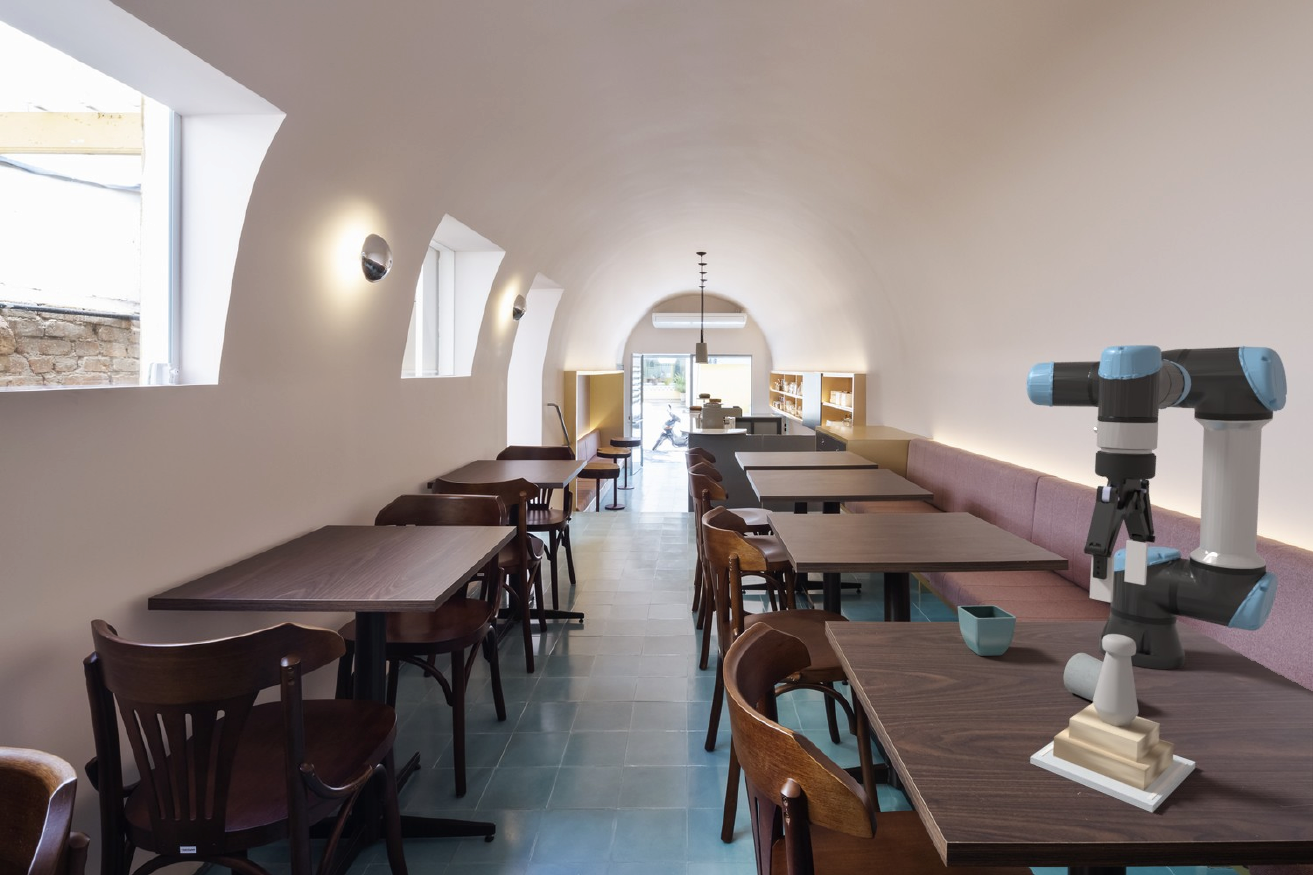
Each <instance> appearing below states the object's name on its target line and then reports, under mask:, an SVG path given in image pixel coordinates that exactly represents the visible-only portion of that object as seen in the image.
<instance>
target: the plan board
mask: <svg viewBox="0 0 1313 875" xmlns="http://www.w3.org/2000/svg"><path fill="white" fill-rule="evenodd" d="M1053 746H1054V740H1052V741H1051V742H1049V743H1048V744H1047V745H1045V746H1044V747H1042V748H1041V749H1039V750H1038V751H1037V752H1035V753H1033V754H1032V755H1031V756H1029V757H1030V760H1029V761H1030V762H1029V763H1030V764H1032V765H1034V766H1037V767H1038V768H1039V767H1040V768H1041V769H1044V770H1046V771H1049V772H1051V773H1053V774H1056V775H1059V776H1061V777H1063V778H1066V779H1067V780H1070V781H1073V782H1075V783H1078V784H1081V785H1084V786H1086V787H1088V788H1091V789H1093V790H1096V791H1098V792H1101V793H1103V794H1105V795H1108V796H1110V797H1113V798H1115V799H1118V800H1120V801H1122V802H1125V803H1127V804H1130V805H1132V806H1135V807H1137V808H1140V809H1142V810H1145V811H1147V812H1149V813H1154V812H1155V811H1156V810H1157V808H1159V807H1160V805H1161V804H1162V803H1164V801H1165V800H1166V799H1168V797H1169V796H1170V795H1171V794H1172V793H1173V792H1174V791H1175V790H1176V789H1177V788H1178V787H1179V785H1181V783H1183V781H1184V780H1185V779H1186V778H1187V777H1188V776H1189V775H1190V774H1191V773H1192V772H1193V771H1195V769H1196V761H1193V760H1190V759H1188V758H1184V757H1181V756H1179V755H1175V754H1173V763H1172V764H1171V765H1170V766H1169V767H1168V768H1167V769H1166V770H1165V771H1164V772H1163V773H1162V774H1161V775H1160V776H1159V777H1158V778H1157V779H1156V780H1155V781H1154V782H1153V783H1152V784H1151V785H1149V786H1148V787H1147V788H1146V789H1145V790H1144V791H1142V790H1139V789H1137V788H1134V787H1132V786H1129V785H1127V784H1124V783H1121V782H1119V781H1116V780H1114V779H1111V778H1109V777H1106V776H1104V775H1101V774H1098V773H1096V772H1093V771H1091V770H1088V769H1086V768H1083V767H1080V766H1078V765H1075V764H1073V763H1070V762H1068V761H1065V760H1063V759H1060V758H1057V757H1055V756H1053Z"/></svg>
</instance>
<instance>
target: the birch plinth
mask: <svg viewBox="0 0 1313 875" xmlns="http://www.w3.org/2000/svg"><path fill="white" fill-rule="evenodd" d="M1068 722H1069V723H1068V724H1069V725H1068V727H1066V728H1065V729H1064V730H1062V731H1060V732H1059V733H1058V734H1056V735H1054V736H1053V741H1054V746H1053V756H1055V757H1057V758H1060V759H1063V760H1065V761H1068V762H1070V763H1073V764H1075V765H1078V766H1080V767H1083V768H1086V769H1088V770H1091V771H1093V772H1096V773H1098V774H1101V775H1104V776H1106V777H1109V778H1111V779H1114V780H1116V781H1119V782H1121V783H1124V784H1127V785H1129V786H1132V787H1134V788H1137V789H1139V790H1142V791H1144V790H1145V789H1146V788H1147V787H1148V786H1149V785H1151V784H1152V783H1153V782H1154V781H1155V780H1156V779H1157V778H1158V777H1159V776H1160V775H1161V774H1162V773H1163V772H1164V771H1165V770H1166V769H1167V768H1168V767H1169V766H1170V765H1171V764H1172V763H1173V755H1174V750H1175V749H1174V748H1175V743H1173V742H1170V741H1167V740H1164V739H1161V738H1160V727H1161V724H1160V723H1159V722H1156V721H1152V720H1151V719H1147V718H1144V717H1140V716H1138V715H1137V716H1136V717H1135V719H1134V720H1133V721H1132V722H1131V724H1130V725H1129V727H1115V726H1113V725H1110V724H1107V723H1104V722H1102V720H1101V719H1100V717H1099V716H1098V713H1097V711H1096V709H1095V707H1094V703H1093V702H1092V703H1090V704H1089V705H1087V706H1086V707H1085V708H1083V709H1082V710H1080V711H1079V712H1077V713H1075V714H1074V715H1073V716H1071V717H1069V721H1068Z"/></svg>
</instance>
